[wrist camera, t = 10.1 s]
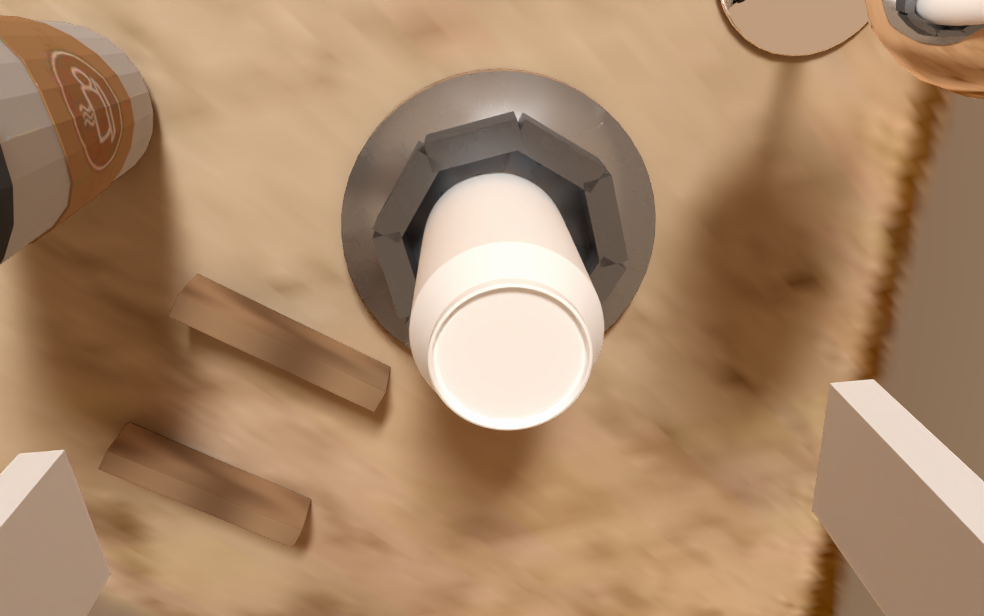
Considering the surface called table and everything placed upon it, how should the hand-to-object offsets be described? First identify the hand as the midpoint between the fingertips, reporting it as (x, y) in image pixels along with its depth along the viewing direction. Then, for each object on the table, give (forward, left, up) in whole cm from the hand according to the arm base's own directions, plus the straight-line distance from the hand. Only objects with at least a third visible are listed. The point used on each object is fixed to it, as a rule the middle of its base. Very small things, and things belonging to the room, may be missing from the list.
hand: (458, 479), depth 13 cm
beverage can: (+2, -1, -21) cm, 21 cm away
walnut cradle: (-3, -15, -22) cm, 26 cm away
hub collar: (+3, -1, -22) cm, 22 cm away
